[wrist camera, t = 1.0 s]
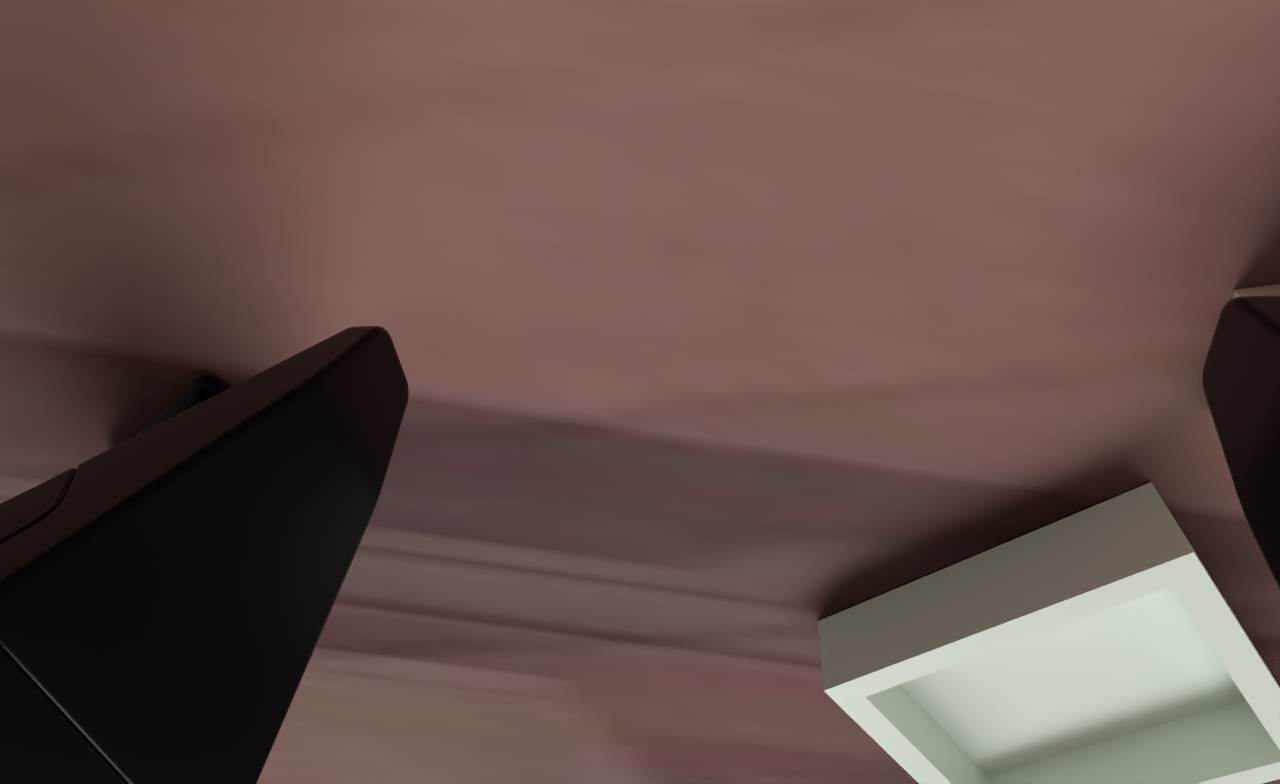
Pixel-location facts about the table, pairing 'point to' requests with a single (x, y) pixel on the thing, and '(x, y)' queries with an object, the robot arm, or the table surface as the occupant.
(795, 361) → the table surface
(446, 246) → the table surface
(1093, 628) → the tray
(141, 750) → the robot arm
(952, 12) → the table surface
